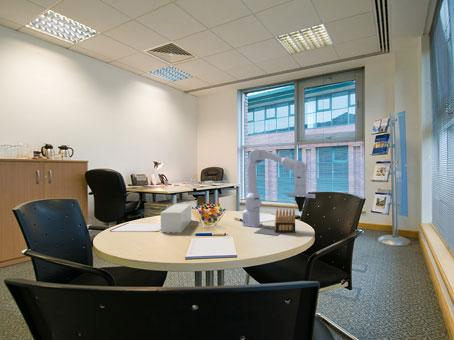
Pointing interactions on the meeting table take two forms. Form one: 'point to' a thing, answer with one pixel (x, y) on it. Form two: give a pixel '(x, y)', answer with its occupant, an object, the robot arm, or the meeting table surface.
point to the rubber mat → (267, 231)
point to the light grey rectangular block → (175, 218)
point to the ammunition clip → (285, 222)
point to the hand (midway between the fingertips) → (300, 211)
